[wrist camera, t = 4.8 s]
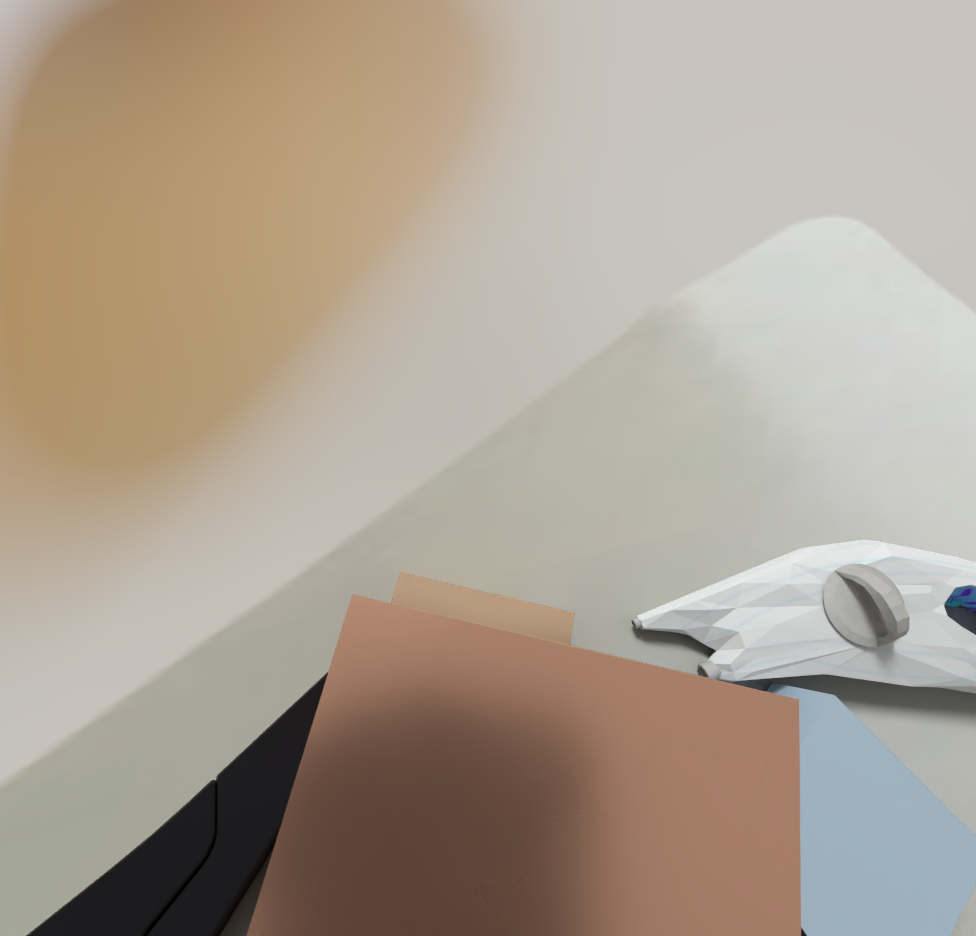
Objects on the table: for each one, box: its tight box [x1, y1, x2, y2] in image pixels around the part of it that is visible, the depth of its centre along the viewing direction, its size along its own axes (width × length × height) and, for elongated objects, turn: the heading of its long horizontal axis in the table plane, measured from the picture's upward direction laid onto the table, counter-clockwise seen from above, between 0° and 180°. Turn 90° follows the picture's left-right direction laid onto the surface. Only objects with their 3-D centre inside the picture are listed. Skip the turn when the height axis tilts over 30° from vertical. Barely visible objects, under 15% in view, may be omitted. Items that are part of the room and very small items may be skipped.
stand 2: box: [766, 683, 976, 936], centre depth 17 cm, size 7×7×4 cm
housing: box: [247, 595, 801, 936], centre depth 8 cm, size 4×4×9 cm
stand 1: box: [391, 572, 574, 645], centre depth 18 cm, size 7×7×4 cm
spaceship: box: [632, 540, 976, 694], centre depth 20 cm, size 23×7×4 cm, turn 88°
